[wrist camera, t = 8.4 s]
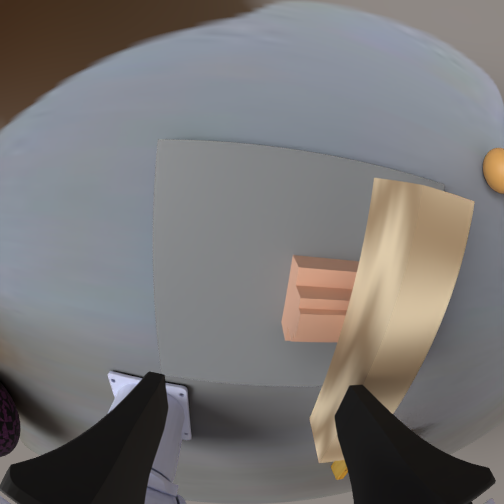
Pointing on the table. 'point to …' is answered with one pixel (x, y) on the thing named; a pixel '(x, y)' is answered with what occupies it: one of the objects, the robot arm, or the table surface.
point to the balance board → (256, 258)
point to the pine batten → (394, 298)
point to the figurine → (494, 169)
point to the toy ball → (8, 423)
